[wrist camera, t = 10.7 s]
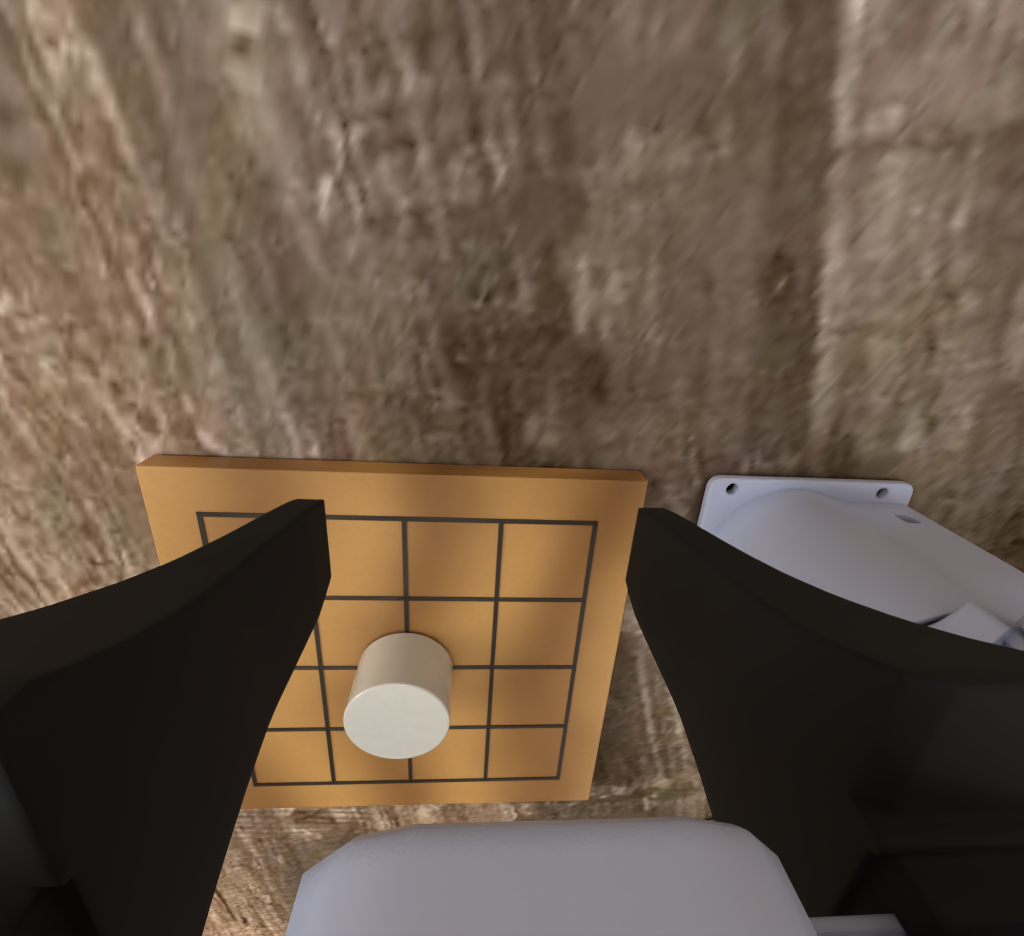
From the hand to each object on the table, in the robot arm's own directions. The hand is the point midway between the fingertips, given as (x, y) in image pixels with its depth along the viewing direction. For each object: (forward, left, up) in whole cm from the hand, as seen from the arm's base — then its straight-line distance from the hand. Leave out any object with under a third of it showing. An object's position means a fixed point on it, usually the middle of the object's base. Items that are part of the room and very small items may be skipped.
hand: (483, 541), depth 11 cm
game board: (+3, +12, -9) cm, 16 cm away
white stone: (+3, +12, -8) cm, 15 cm away
